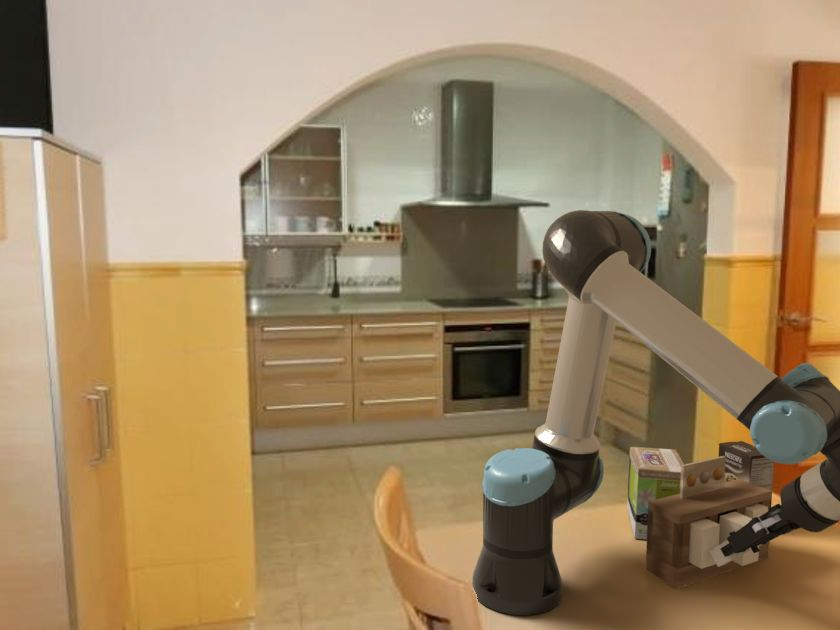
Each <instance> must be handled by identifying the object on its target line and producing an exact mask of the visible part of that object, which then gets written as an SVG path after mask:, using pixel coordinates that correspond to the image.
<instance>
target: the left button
mask: <svg viewBox="0 0 840 630" xmlns="http://www.w3.org/2000/svg"><path fill="white" fill-rule="evenodd" d="M719 530H720V524H717V523H715V522H713V521H711V520H708V519H706V518H701V519H698V520H694V521H690V537H689V559H688V562H690V563H692V564H693V565H695V566H697V567H699V568H701V569H702V568H705V567H709V566H712V565H715V564H716V563H715V561H714V559H713V557H712V556H711V554H710V552H709V551H710V550H712V549H714V548H715V547H717V546H719Z"/></svg>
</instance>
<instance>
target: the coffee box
mask: <svg viewBox="0 0 840 630" xmlns="http://www.w3.org/2000/svg"><path fill="white" fill-rule="evenodd" d="M720 456H725V457H726V461H725V480H724V482H728V481H732V480H736V479H741V480H744V481H746V482H749V483H752V484H755V485H757V486H760V487H763V488H765V489H768V490H771V491H772V492H773V478H774V477H773V476H774V467H775V466H774V465H775V462H774V461H771V460H769V459H768V458H766V457H765V456H763V455H762V454H761V453H760V452H759V451H758V450H757V448H756V447H755V445H754V444H750V443H747V442H745V441H743V440H740V441H726V442H719V443H718V455H717V457H720Z"/></svg>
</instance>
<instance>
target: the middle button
mask: <svg viewBox="0 0 840 630" xmlns="http://www.w3.org/2000/svg"><path fill="white" fill-rule="evenodd" d="M750 520H752V518H749V517H747V516H744V515H742V514H740V513H737V512H732V513H728V514H725V515H721V516H720V521H719V524H720V530H719V545H720V544H722V543H724V542H725V541H727V538H728V537H729V536H730V534H729V533H731V532H734V531H735V532H736V531H738V530H739V529H741V528H742V527H744V526H745V525H746V524H748V523H749V522H750ZM757 547H758V549H759V546H757ZM749 550H750V551H748V552H746V553H744V554H743V555H741V556H739V557H737V558H736V559H734V560H732V561H734V562H736V563H738V564H740V565H742V567H744V565H745V566H748V565H751V564H753V562H754V563H757V562H759V561H758V556H759V552H756V553H753V551H752V549H751V548H749ZM756 561H757V562H756ZM750 563H751V564H750ZM747 564H748V565H747Z"/></svg>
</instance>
